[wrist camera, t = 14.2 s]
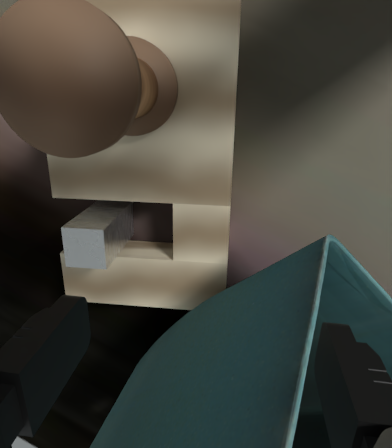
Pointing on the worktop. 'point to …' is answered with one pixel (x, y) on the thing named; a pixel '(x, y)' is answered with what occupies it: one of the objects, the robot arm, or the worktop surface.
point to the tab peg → (98, 234)
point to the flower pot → (251, 359)
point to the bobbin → (79, 78)
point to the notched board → (168, 161)
